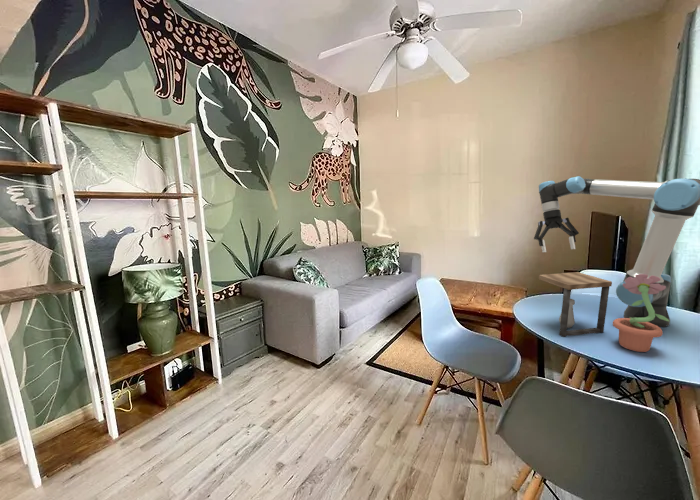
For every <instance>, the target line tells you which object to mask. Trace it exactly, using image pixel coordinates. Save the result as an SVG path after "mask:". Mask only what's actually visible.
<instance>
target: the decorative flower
mask: <svg viewBox="0 0 700 500" xmlns="http://www.w3.org/2000/svg"><path fill="white" fill-rule="evenodd" d="M635 276H636V278H632V277H628V278H627V279H626V280H625V283H626V284H624V283H623V287H624V288H625V289H628V291H630V292H632V293H634V294H642V298H643V300H639V301H636V302H634V303H633V304H632V306H637V305H641V304H642V303H643V302H644V304H645V306H646V308H647V311H648V314H649V315H648V316H647V317H642V318H640V317H639V318H632V317H629V318H625V317H618V318H615V319H614V320H613V321H612V326H613V328H615V329H617V330H618V343H619V345H620V346H621V347H623V348H624V349H627V350H630V351H633V352H640V353H644V352H645V353H646V352H649V351H650V349H651V347H652V343H653V339H654V338H659V337H662V336H663V334H664V333H663V330H662V327H658V326H656V325H654V324H652V323H649V321H651V320H653V319H654V318H655V315H656V316H657V317H658V318H660V319H662V320H665V321H669V320H668V319H667V318H666V317H664V316H662V315H658V314H655V311H654V309H653V307H652V305H651V302H650V300H649V295H648V294H657V293H659V291H662V290H664V289H665V288H666V286H661V285H660V284H652V283H655V282H658V281H660V278H659V277H657V276H650V277H649V278H647V277H648V275H646V274H638V275H635ZM669 322H670V323H671V320H670V321H669Z"/></svg>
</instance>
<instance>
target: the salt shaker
mask: <svg viewBox="0 0 700 500" xmlns="http://www.w3.org/2000/svg"><path fill="white" fill-rule="evenodd" d="M575 303H576V301H575V299H573V298H571V297H570V304H569V313H568V323H567V329H572V327H573V326H574V325H575V324H576V323H575V315H574V306H575ZM560 321H561V314H560V315H559V318H558V322H559V323H560Z"/></svg>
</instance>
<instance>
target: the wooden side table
mask: <svg viewBox="0 0 700 500" xmlns="http://www.w3.org/2000/svg"><path fill="white" fill-rule="evenodd" d="M538 280H540V281H543V282H546V283H549V284H551V285H554V286H557V287H559V288H563V291H562V293H563V295H562V303H561V312H560V315H561V321H560V322H559V332H558V335H559V336H560V337H562V338H566V337H570V336H580V335H589V334H592V335H593V334H603V333H604V330H605V324H606V315H607V309H608V300H609V293H610V287H612V285H613V282H612V281H611V280H607V279H605V278H600V277H597V276H593V275H589V274H586V273H583V272H579V271H575V272H562V273H561V272H560V273H549V274H548V273H546V274H539V275H538ZM594 288H601V292H600V297H599V298H600V300H599V305H598V314H597V323H596V327H588V328H580V329H571V330H570V329H569V330H568V328H567V323H568V313H569V304H570V298H571V294H572V290H582V289H583V290H584V289H594Z"/></svg>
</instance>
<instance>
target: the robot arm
mask: <svg viewBox="0 0 700 500" xmlns="http://www.w3.org/2000/svg"><path fill="white" fill-rule="evenodd" d="M538 193H539V197H540V202H541V209H542V210H541V211H542V212H543V213H542V215H543V219H544V220H540V221H538V222H537V228H536V232H535V234H534V237H533V240H537V241H538V246H539V247H541V250H542V251H541V253H547V248H546V241H545V239H544V237H545V236H546V234H547V233H548V232H549V230H550V229H551V230H553V229H561V230H562V231H563V232H564V233H565V234H567V235H568V236H569V237H568V242H569V246H570V250H576V244H575V243H576V242H577V241H576V236H578V235H579V234H580V233H579V231H578V230H577V229H576V227H575V226H574V225H573V224H572V222H571V221H570V218H569V217H566V218H562V213H561V209H560V208H561V206H560V203H559V198H561V197H565V196H568V195H579V194H580V195H593V196H594V195H595V196H605V197H606V196H607V197H608V196H609V197H616V198H617V197H619V198H627V199H628V198H629V199H643V200H652V201H654V203H653V207H652V210H651V212H652V213H653V214H654V218H653V220H652V222H651V225H650V226H649V229H648V233H647V235H646V237H645V240H644V241H643V243H642V247H641V249H640V251H639V254H638V257H637V258H636V260H635V261H636V262H635V263H634V266H633V268H631V269H629V270H627V271H626V274H625V276H624V278H623V280H622V282H620V283H619V284H618V285H617V286H616V290H615V293H616V297H617V298H618V299H619V301H620V302H622V303H623V304H625V305H627V307H626V308H625V309H624V312H623V318H629V317H632V318H639V317H640V318H642V317H647V316H648V315H649V314H648V311H647V308H646V306H645V304H644V302H643V303H642V304H641V305H637V306H632V304H633V303H634V302H636V301H639V300H643V298H642V294H634V293H632V292H630V291H628V289H625V288H624V287H623V283H624V284H626V283H625V280H626V279H627V278H628V277H632V278H636V276H635V275H638V274H646V275H648V277H647V278H649V277H650V276H657V277H659V278H660V281H658V282H655V283H652V284H660V285H661V286H666V288H665V289H664V290H662V291H659V293H657V294H648V295H649V300H650V302H651V305H652V307H653V309H654V311H655V314H658V315H662V316H664V317H666V318H667V319H668V320H669V321H670V322H669V321H665V320H662V319H660V318H658V317H657V316H656V315H655V318H654V319H653V320H651V321H649V323H652V324H654V325H656V326H658V327H660V328H665V327H666V328H667V327H669V326H670V323H671V319H670V316H669V312H668V308H667V306H668V301H669V295H670V290H671V284H672V277H671V275H669V274H666V273H663V272H664V270H665V267H666V265H667V263H668V260H669V258H670V256H671V253H672V251H673V249H674V247H675V244H676V243H677V240H678V239H679V236H680V234H681V232H682V229H683V227H684V225H685V223H686V221H687V220H690V219H691V218H693V217H694V216H695V214H696V212H697V209H698V208H699V206H700V179H699V178H686V177H685V178H683V177H682V178H674V179H668V180H665V181H642V180H641V181H640V180H638V181H637V180H618V179H617V180H616V179H615V180H614V179H598V178H597V179H593V178H583V177H581V176H579V175H578V176H574V177H570V178H567V179H565V180H561V181H558V182H555V181H554V180H548V181H547V180H546V181H543V182H541V183H540V184H539V185H538ZM563 223H564V224H563ZM544 225H545V227H544V229H543V226H544ZM565 225H566V226H565ZM542 229H543V230H542ZM541 231H542V232H541Z"/></svg>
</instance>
